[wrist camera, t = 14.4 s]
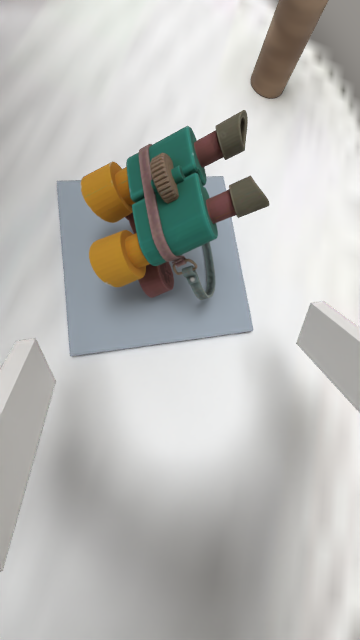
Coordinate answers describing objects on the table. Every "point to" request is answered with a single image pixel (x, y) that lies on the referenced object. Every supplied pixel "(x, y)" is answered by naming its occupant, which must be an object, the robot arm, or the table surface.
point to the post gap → (285, 44)
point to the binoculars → (167, 208)
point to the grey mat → (130, 300)
